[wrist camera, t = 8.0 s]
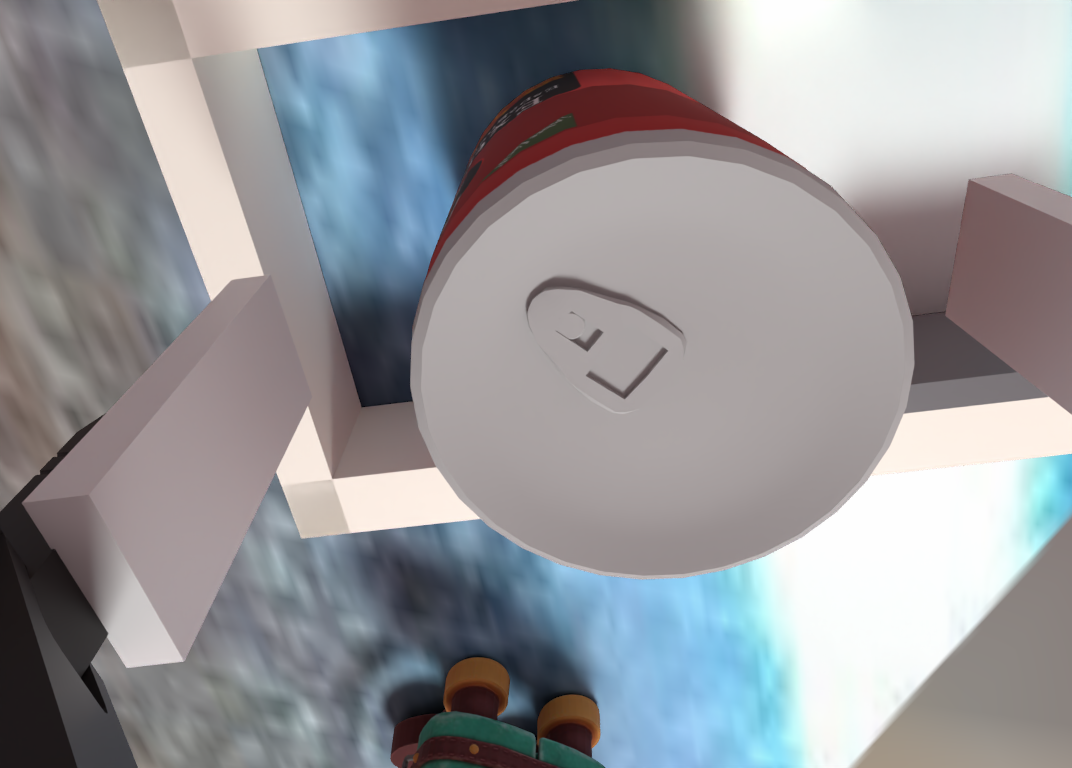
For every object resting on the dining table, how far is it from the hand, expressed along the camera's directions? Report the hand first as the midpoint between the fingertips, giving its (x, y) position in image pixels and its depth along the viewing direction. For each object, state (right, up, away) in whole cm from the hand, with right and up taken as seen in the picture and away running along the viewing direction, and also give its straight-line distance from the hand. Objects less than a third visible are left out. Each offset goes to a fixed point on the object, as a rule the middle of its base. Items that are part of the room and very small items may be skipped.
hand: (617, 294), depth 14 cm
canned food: (0, +3, +7) cm, 8 cm away
